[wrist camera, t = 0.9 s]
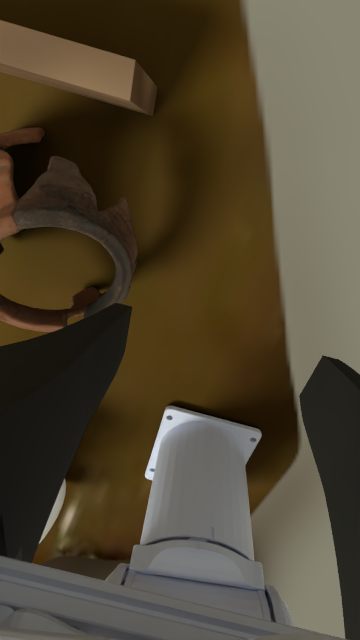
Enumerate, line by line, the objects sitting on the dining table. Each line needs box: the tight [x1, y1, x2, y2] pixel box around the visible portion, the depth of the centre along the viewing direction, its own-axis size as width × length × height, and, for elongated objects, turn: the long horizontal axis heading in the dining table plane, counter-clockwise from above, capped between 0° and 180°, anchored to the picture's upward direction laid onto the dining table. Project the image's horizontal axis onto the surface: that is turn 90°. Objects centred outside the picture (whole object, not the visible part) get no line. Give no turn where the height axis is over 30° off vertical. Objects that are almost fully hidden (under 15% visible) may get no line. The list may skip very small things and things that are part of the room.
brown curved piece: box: [0, 127, 138, 332], centre depth 16 cm, size 12×10×8 cm
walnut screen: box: [0, 20, 158, 116], centre depth 13 cm, size 1×11×4 cm, turn 76°
